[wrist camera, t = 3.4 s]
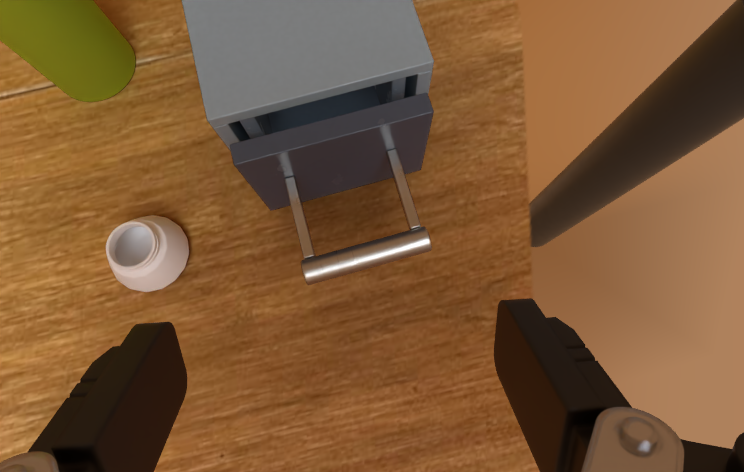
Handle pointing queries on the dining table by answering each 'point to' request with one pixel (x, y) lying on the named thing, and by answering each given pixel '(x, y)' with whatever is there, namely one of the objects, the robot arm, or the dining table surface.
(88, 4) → the soap dispenser
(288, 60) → the drawer unit
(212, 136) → the dining table surface
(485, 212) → the dining table surface
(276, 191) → the compartment
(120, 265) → the white jar
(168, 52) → the dining table surface
